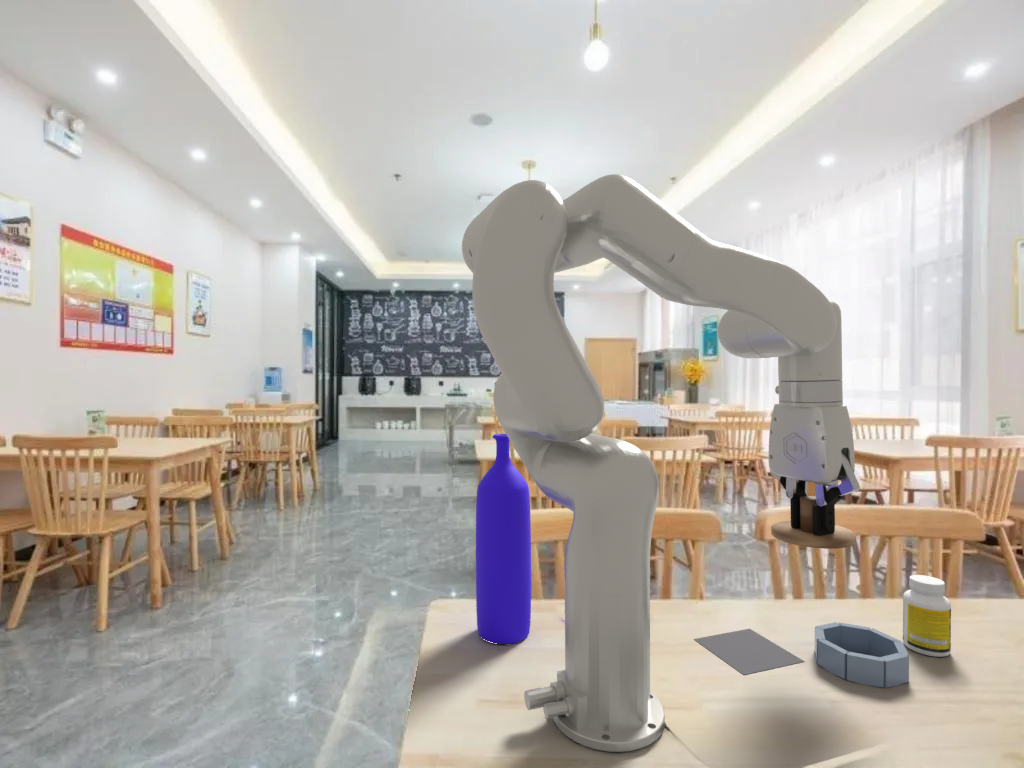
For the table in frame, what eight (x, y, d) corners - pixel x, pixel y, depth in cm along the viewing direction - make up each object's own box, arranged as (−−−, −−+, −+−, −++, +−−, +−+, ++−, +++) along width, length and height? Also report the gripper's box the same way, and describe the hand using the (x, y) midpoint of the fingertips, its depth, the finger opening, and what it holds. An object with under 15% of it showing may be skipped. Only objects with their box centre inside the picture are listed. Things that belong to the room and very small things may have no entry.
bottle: (541, 629, 83) (540, 433, 83) (512, 652, 76) (511, 438, 76) (496, 616, 88) (495, 430, 87) (465, 637, 81) (463, 435, 80)
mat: (743, 679, 69) (743, 674, 69) (693, 643, 79) (693, 639, 79) (804, 665, 72) (804, 661, 72) (749, 632, 82) (749, 628, 82)
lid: (817, 553, 67) (816, 511, 67) (754, 531, 76) (754, 494, 76) (874, 541, 70) (874, 501, 70) (808, 522, 80) (807, 487, 80)
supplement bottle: (959, 660, 74) (960, 588, 73) (914, 656, 75) (915, 585, 75) (937, 641, 79) (937, 573, 79) (895, 637, 80) (895, 571, 80)
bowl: (867, 699, 65) (867, 666, 65) (798, 658, 74) (798, 629, 74) (925, 683, 68) (925, 651, 68) (851, 646, 78) (851, 618, 78)
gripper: (742, 393, 79) (745, 519, 80) (845, 397, 64) (848, 552, 64) (781, 391, 82) (784, 513, 82) (890, 394, 67) (892, 544, 67)
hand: (812, 529), depth 73 cm, fingers closed on lid, 2 cm apart
